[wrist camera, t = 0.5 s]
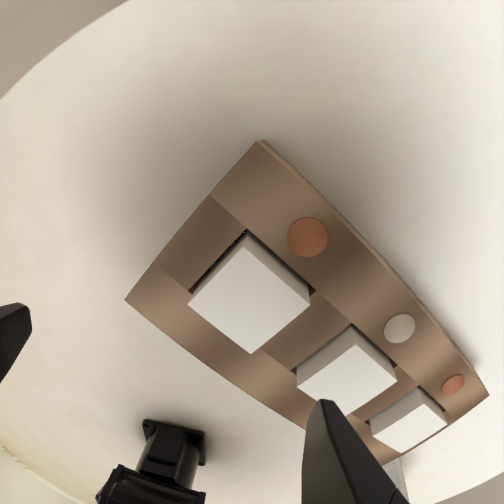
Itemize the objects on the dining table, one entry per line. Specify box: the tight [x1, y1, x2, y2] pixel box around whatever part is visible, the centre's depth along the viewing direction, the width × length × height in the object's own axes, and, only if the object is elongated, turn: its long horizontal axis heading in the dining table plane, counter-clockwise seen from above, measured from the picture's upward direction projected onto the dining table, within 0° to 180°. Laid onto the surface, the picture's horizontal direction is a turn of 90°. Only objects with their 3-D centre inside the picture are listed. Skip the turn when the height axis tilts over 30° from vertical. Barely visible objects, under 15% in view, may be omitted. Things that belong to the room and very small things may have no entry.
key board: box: [124, 140, 489, 466], centre depth 21 cm, size 26×12×4 cm, turn 49°
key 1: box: [369, 385, 447, 453], centre depth 20 cm, size 4×4×3 cm
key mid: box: [296, 323, 397, 416], centre depth 19 cm, size 4×4×3 cm
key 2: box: [187, 230, 310, 354], centre depth 18 cm, size 4×4×3 cm
